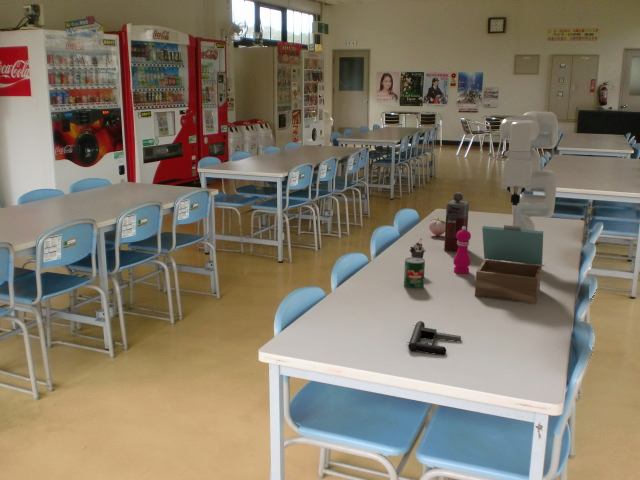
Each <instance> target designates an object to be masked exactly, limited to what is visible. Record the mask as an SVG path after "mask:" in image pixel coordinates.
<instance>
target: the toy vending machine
mask: <svg viewBox="0 0 640 480" xmlns="http://www.w3.org/2000/svg"><path fill="white" fill-rule="evenodd" d="M463 199H464V195H463V193H461V192H458V191H457V192H455V193H454V195H453V199H452V200H450V201H449V202H447V203H446V207H445V208H446V209H445V222H446V226H445V233H444V248H443V251H444V252H449V253H457V251H458V244H457V241H458V239H457V238H456V235H457V232H458V231H460V230H462V227H463V226H465V227H466V230H467V231H468V225H469V211H470V210H469V207H470V202H469V201H464V200H463Z"/></svg>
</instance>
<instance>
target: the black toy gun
mask: <svg viewBox="0 0 640 480" xmlns="http://www.w3.org/2000/svg"><path fill="white" fill-rule="evenodd" d="M413 326H414V329H413V331H412V335H411V337H410V340H409V341H407V342H406V343H408V344H406V346H408V350H409V351H410V350H411V351H410V352H413V351H414V352H420V351H421V353H425V352H428V353H427V354H431V353H435V354H434V355H437V354H445V353H446V354H447V348H446V347H445V346H442V345H435V341H436V340H440V339H445V340H444V341H448V340H454V341H453V342H457V341H460V342H461V341H462V336H461V335H455V334H450V333H445V332H438V330H437V329H436V328H430V327H426V326H425V323H424V321H422V320H419V321H417V322H416V324H415V325H414V324H413ZM423 338H426V339H425V340H432V339H433V340H432V343H429V342H421V340H422V339H423ZM446 354H445V355H446Z"/></svg>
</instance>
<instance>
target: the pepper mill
mask: <svg viewBox="0 0 640 480" xmlns="http://www.w3.org/2000/svg"><path fill="white" fill-rule="evenodd" d="M456 238H457V239H458V241H457V244H458V251H457V252H456V254H455V256H454V258H453V266H454V268H453V272H454V273H456V274H458V273H459V274H460V275H466V274H469V273H470V268H469V267H470V265H471V257H470V254H469V252H468V248H469V246H470V240H471V238H472V235H471V232H470V231H469V230H468V229H467V230H466V227H465V226H463V227H462V230H460V231H458V232H457V235H456Z"/></svg>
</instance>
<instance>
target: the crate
mask: <svg viewBox="0 0 640 480" xmlns="http://www.w3.org/2000/svg"><path fill="white" fill-rule="evenodd" d="M542 269H543V265H531V264H521V263H512V262H506V261H498V260H489V259H484V258H483V261H482V262H481V264H480V266H479V267H478V269H477V270H476V271H475V272H476V275H475V288H474V289H475V290H474V297H480V298H487V299H494V300H501V301H508V302H509V301H510V302H519V303H525V304H534V305H536V302H537V300H538V296H539V293H540V290H541V282H542V281H541V280H542Z"/></svg>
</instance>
